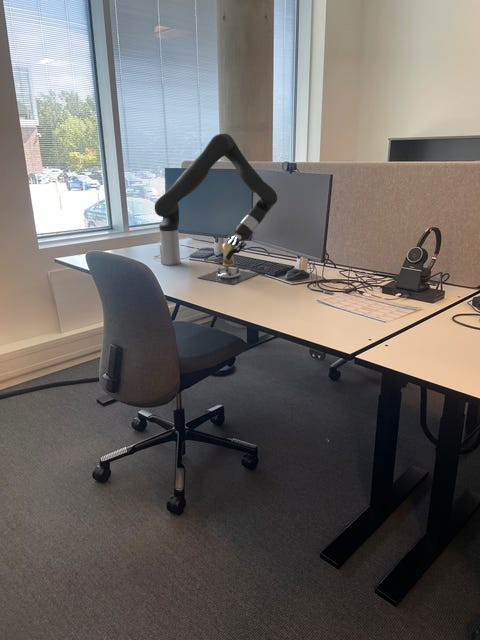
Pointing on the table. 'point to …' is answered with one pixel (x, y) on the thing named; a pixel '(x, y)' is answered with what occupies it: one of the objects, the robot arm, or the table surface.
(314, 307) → the table surface
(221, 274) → the flange
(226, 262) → the gold upright cylinder
